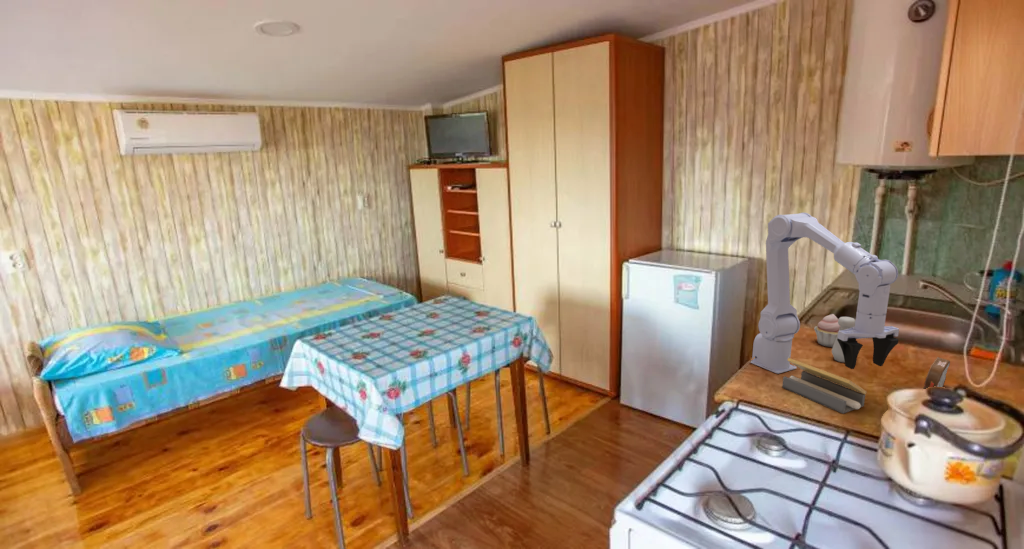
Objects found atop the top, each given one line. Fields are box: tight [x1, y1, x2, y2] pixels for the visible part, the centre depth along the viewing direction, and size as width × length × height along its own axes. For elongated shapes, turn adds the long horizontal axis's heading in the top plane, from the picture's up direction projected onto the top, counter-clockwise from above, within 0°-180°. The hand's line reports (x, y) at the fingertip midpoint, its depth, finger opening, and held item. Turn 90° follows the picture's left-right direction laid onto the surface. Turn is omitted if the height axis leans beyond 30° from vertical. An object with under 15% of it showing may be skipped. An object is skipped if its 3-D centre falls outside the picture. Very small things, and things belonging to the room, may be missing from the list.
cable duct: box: [781, 370, 866, 414], centre depth 131 cm, size 18×8×3 cm, turn 26°
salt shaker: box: [831, 316, 856, 363], centre depth 152 cm, size 6×6×13 cm
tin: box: [922, 356, 951, 390], centre depth 131 cm, size 15×3×8 cm, turn 133°
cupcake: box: [814, 313, 840, 348], centre depth 164 cm, size 9×9×10 cm
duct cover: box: [788, 357, 867, 395], centre depth 130 cm, size 16×8×1 cm
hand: (863, 366), depth 125 cm, fingers open, 7 cm apart
